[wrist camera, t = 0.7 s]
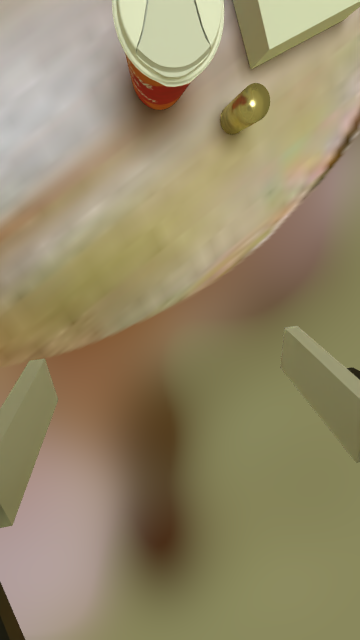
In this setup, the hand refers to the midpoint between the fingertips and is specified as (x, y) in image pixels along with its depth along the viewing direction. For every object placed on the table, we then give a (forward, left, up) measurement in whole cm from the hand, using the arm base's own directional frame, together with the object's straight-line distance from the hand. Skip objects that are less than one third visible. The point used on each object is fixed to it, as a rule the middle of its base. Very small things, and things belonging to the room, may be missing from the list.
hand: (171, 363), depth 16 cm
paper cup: (-17, +10, -26) cm, 33 cm away
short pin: (-10, +16, -26) cm, 32 cm away
